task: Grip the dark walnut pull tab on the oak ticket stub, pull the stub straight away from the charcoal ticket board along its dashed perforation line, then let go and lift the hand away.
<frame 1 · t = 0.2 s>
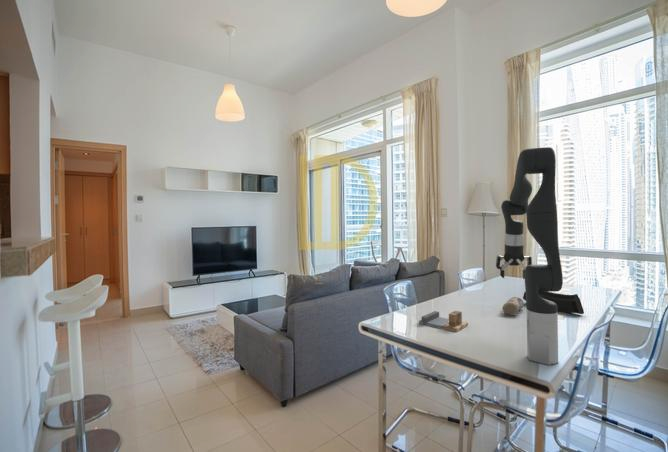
hand: (513, 277, 148), 22 cm above the table, tool pointing down, fingers open, 8 cm apart
ticket board: (436, 322, 156), on the table
stub: (455, 319, 149), point 3 cm above the table, slide at 0.0 cm
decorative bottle: (516, 311, 173), on the table
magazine: (551, 309, 175), on the table
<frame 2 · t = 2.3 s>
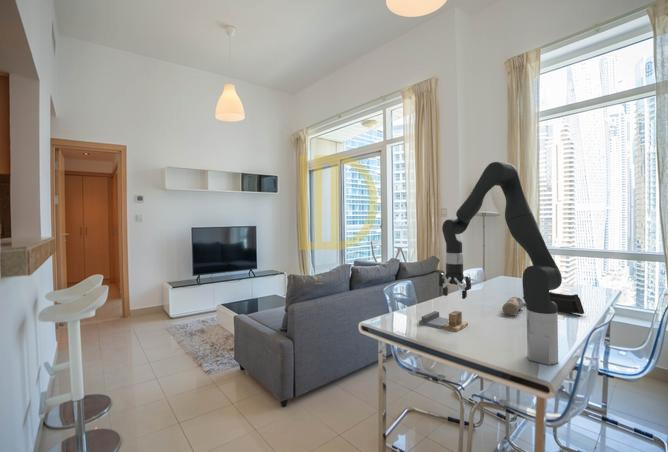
hand: (454, 297, 149), 14 cm above the table, tool pointing down, fingers open, 8 cm apart
nothing on the table moved.
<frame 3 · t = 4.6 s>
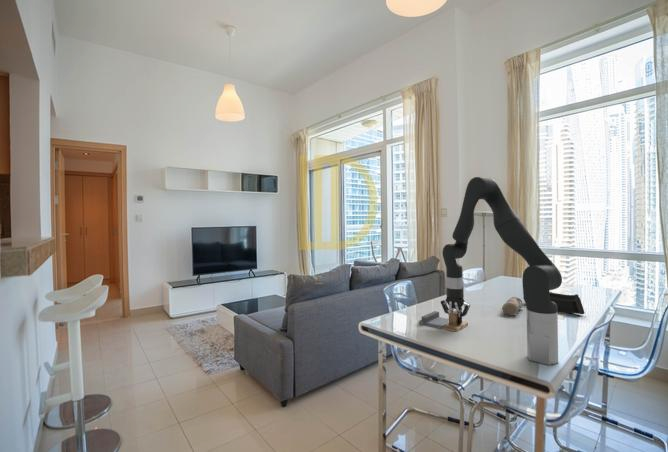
hand: (455, 323, 149), 2 cm above the table, tool pointing down, fingers closed on stub, 3 cm apart
stub: (455, 319, 149), point 3 cm above the table, slide at 0.0 cm, touching gripper
everything else where it was.
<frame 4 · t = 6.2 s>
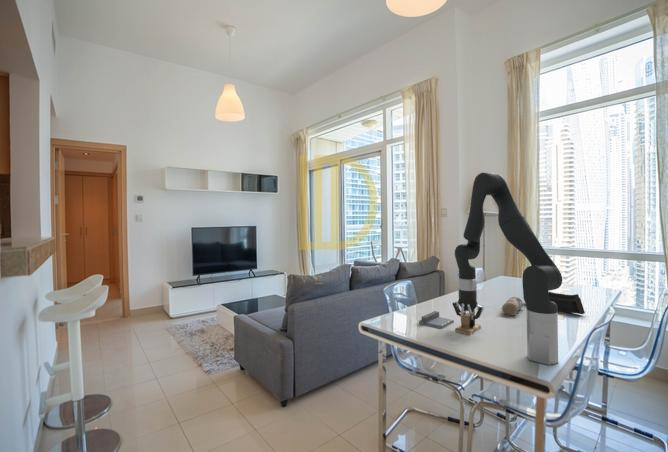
hand: (468, 326, 145), 2 cm above the table, tool pointing down, fingers closed on stub, 3 cm apart
stub: (467, 322, 145), point 3 cm above the table, slide at 5.8 cm, touching gripper
everything else where it was.
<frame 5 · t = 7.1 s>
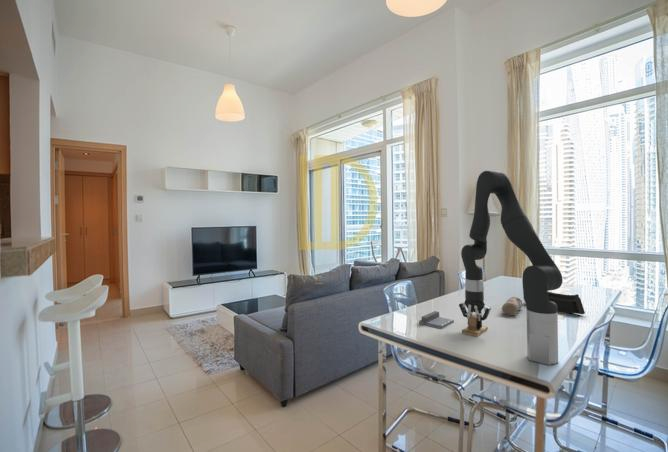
hand: (474, 327, 143), 2 cm above the table, tool pointing down, fingers closed on stub, 3 cm apart
stub: (474, 323, 143), point 3 cm above the table, slide at 8.8 cm, touching gripper
everything else where it was.
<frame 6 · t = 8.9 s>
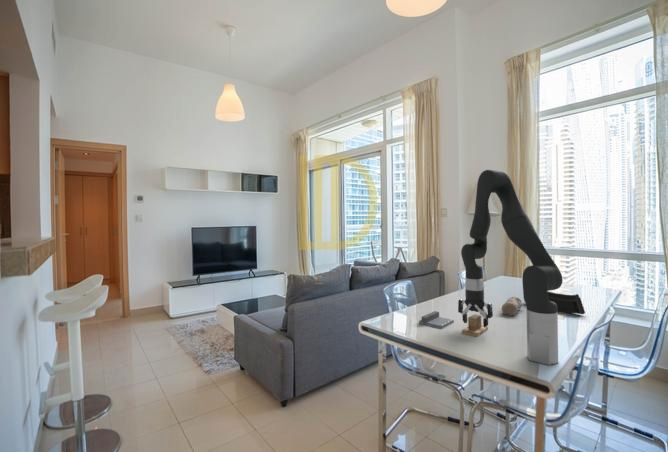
hand: (475, 324, 142), 3 cm above the table, tool pointing down, fingers open, 8 cm apart
stub: (474, 323, 142), point 3 cm above the table, slide at 8.9 cm
everything else where it was.
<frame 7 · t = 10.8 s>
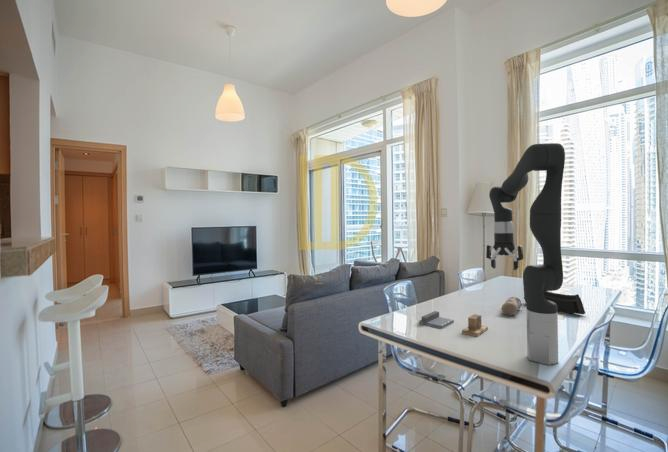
hand: (504, 269, 140), 28 cm above the table, tool pointing down, fingers open, 8 cm apart
nothing on the table moved.
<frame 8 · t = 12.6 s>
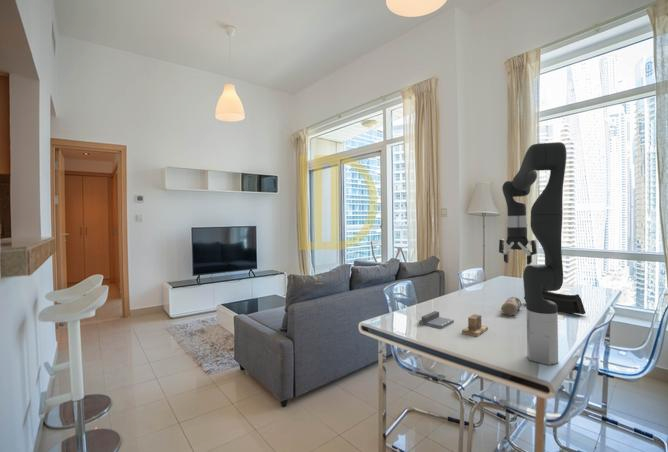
hand: (517, 263, 140), 30 cm above the table, tool pointing down, fingers open, 8 cm apart
nothing on the table moved.
at the end: stub slide at 8.9 cm; the gripper is holding nothing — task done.
